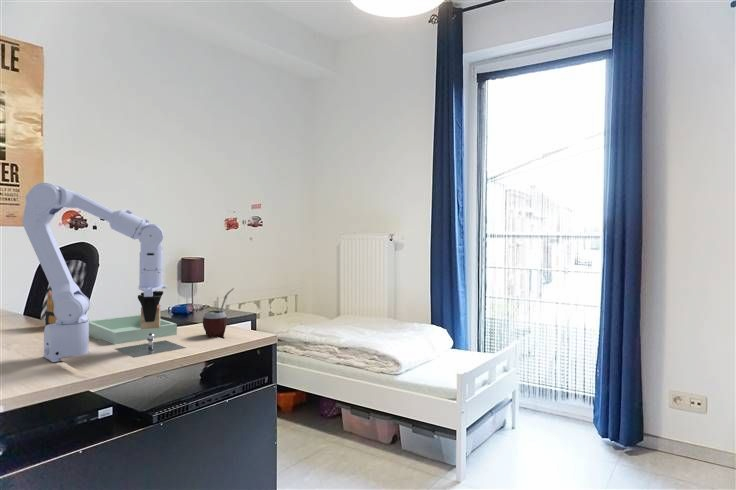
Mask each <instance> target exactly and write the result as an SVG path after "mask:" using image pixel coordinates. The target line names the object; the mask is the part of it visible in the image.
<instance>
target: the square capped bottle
mask: <svg viewBox="0 0 736 490" xmlns="http://www.w3.org/2000/svg"><path fill="white" fill-rule="evenodd" d="M161 312H162V311H161V304H159V305H157V310H156V316H155V320H154V322H145V319H144V314H143V309H142V306H141V307H140V315H141V329H151V328H159V327H160V319H161V314H162V313H161Z"/></svg>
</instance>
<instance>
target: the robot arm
mask: <svg viewBox="0 0 736 490" xmlns="http://www.w3.org/2000/svg"><path fill="white" fill-rule="evenodd" d="M24 197H25V206H24V211H23V216H22V221H21V222H22V226H23V228H24V231H25V233H26V235H27V237H28V239H29V241H30V243H31V244H30V245H31V247H32V248H33V251H34V253H35V255H36V257H37V260H38V262H39V264H40V266H41V268H42V271H43V272H44V274H45V277H46V279H47V282H48V283H49V286H50V288H51V292H52V300H53V302H54V315H55V317H56V318H57V320H56V323H54V324H49V325H46V326H45V327H44V330H43V354H42V355H43V356H42V357H43V358H44V359H47V360H48V361H49V362H51V363H58V362H63V358H69V357H77V356H83V355H85V354H88V353H89V352H90V351H89V349H90V340H89V337H90V336H89V321H90V320H89V319H90V318H89V317H88V316H87V313H88V312H89V310H90V308H91V307H90V306H91V302H90V299H89V297H87V295H85V294H84V293H83V292H82V290H81V288H80V287H79V286H78V284H77V283H76V282H75V281H74V279H73V277H72V274H71V272H70V270H69V268H68V265H67V262H66V260H65V259H64V256H63V254H62V252H61V250H60V247H59V245H58V242H57V240H56V238H55V235H54V234H53V231H52V228H51V227H50V223H51V221H53V219H54V217H55V215H56V214H57V213H59V212H60V211H61V210H62V209H64V208H69V209H79V210H81V211H83V212H86V213H88V214H91V215H92V216H95V217H96V218H99V219H101V220H104V221H106V222H108V223H109V227H110V229H111V230H113V231H115V232H118V233H119V234H122V235H124V236H126V237H129V238H130V239H132V240H137V239H138V241H139V243H140V252H139V271H138V273H139V283H138V290H140V291H142V292H140V294H138V295H137V300H138V301H139V303H140V305H141V307H142V309H143V314H144V319H145V322H154V320H155V316H156V310H157V305H160V301H161V298H162V297H163V295H164V291H163V290H165V289H168V285H167V284H165V285H164V284H163V283H164V282H163V280H164V279H163V278H164V275H163V273H164V272H163V271H164V270H163V269H164V252H163V248H164V247H163V243H162V242H163V240H164V238H165V237H164V236H165V235H164V231H163V229H162V228H161V227H160V226H158V225H157V224H155V223H152V224H151V223H150V222H151V220H149V219H147V218H146V219H143V218H141V217H139V216H137V215H135V214H133V211H131V210H130V209H127V210H125V209H117V210H115V211H114V210H113V209H111V208H109V207H107V206H105V205H103V204H101V203H100V202H97V201H95V200H93V199H91V198H90V197H88V196H86V195H84V194H82V193H79V192H76V191H74V190H70V189H66V188H64V187H62V186H59V185H56V184H52V183H48V182H39V183H37V184H35V185H33V186H32V187H31V188H30V190H28V192H27V194H26V195H25V196H24Z"/></svg>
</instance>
